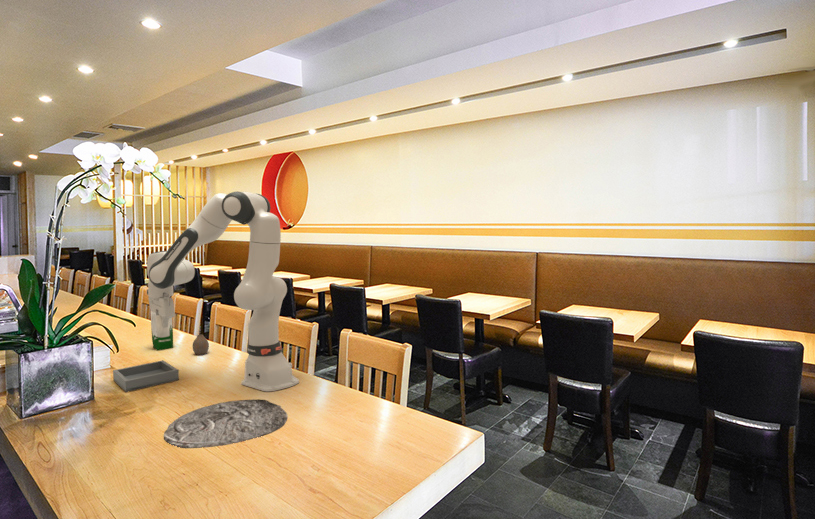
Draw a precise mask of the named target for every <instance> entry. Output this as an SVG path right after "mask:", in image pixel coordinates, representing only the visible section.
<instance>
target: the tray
mask: <svg viewBox="0 0 815 519" xmlns="http://www.w3.org/2000/svg"><path fill="white" fill-rule="evenodd" d="M179 376H180V375H179V369H177V367H174V366H173V365H171V364H170V363H168V362H167V361H165V360H157V361H152V362H147V363H143V364H137V365H133V366H128V367H124V368H118V369H113V370H112V377H113V378H112V379H113V381H114V382H115V383H116V384H117V386H119V388H121V389H122V390H123V391H124V392H125V393H128V391H129V392H133V391H138V390H142V389H146V388H150V387H154V386H158V385H159V386H160V385H163V384H167V383H172V382H176V381H179V380H180V378H179ZM137 389H138V390H137Z"/></svg>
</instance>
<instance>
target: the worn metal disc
mask: <svg viewBox="0 0 815 519" xmlns="http://www.w3.org/2000/svg"><path fill="white" fill-rule="evenodd" d="M287 421H288V413H287V412H286V411H285V409H284V408H283V407H282V406H281V405H278V404H276V403H274V402H271V401H269V400H266V399H260V398H259V399H254V398H253V399H238V400H230V401H224V402H218V403H215V404H211V405H207V406H203V407H200V408H197V409H194V410H192V411H190V412H187V413H185V414H183V415H181V416H178V418H176V419H175V420H173V421H172V422H171V423H170V424H169V425H168V427H167V429H166V430H165V431H164V434H163V440H164V441H165V443H167V444H168V443H169V444H168V445H170V444H171V446H173V445H174V446H173V447H175V446H177V447H176V448H179V447H180V449H202V447H203V449H204V448H214V447H221V446H228V445H233V443H234V444H238V443H242V442H246V440H247V441H250V440H254V439H258V438H261V436H262V437H264V436H267V435H270V434H273V433H274V432H277V431H278V430H280V429H281V428H283V427H284V426H285V424H286V423H287ZM257 437H258V438H257ZM253 438H254V439H253Z"/></svg>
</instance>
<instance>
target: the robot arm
mask: <svg viewBox="0 0 815 519" xmlns="http://www.w3.org/2000/svg"><path fill="white" fill-rule="evenodd" d="M271 208H272V207H271V202H270V201H269V199H268V198H267V197H266V196H264V195H263V194H260V193H254V192H251V191H232V192H229V193H224V192H219V193H215V194H214V195H213V196H212V197H211V198H210V199H209V200H208V201H207V202H206V204H205V205H204V206H203V207H202V208H201V210H200V211H199V213H198V215H197V216H196V218H194V220H193V221H192V223H190V225H189V226H187V228H186V229H185V230H184V231H183V232H182V233H181V234H180V235H179V236H178V237H177V238H176V239H175V241H174V242H173V243H172V244H171V246H170V247H169V248H168V249H167V250H160V251H154V252H151V253H150V254H148V257H147V262H146V270H147V276H148V283H147V289H146V296H148V304H149V309H150V311H151V312H153V313H155V314H156V309H157V310H158V314H159V316H162V319H163V323H162V327H164V328H165V327H168V321H169V318H172V319H173V318H174V317H175V314H176V313H175V304H174V303H175V301H174V300H173V298H172V297H173V296H175V295H174V287H175V286H178V285H182V284H186V283H189V282H191V281H192V280H193V279H194V278H195V275H196V268H195V266H194V264H193V262H192V261H190V260H189V259H188V260H187V259H186V257H187V256H188V255H190V254H189V253H191V252H192V251H193V250H195V249H197V248H198V247H201V246H204V245H208V244H210V243H212V242H214V241H216V240H218V239H219V238H220V237H221V236H222V235H223V234H224V233H225V231H226V230H227V228H228V226H229V225H230V223H231V222H232V221H234V222H237V223H239V224H241V225H244V226H245V225H248V227H249V230H250V235H249V245H248V246H249V247H248V258H247V263H246V264H247V265H246V268H245V271H244V274H243V277H242V280H241V282H239V284H238V286H237V287H236V288H235V290H234V292H233V299H234V302H235V304H236V306H238V307H239V308H240V309H242V310H244V311H245V310H246V311H253V312H252V315H251V317H250V319H249V321H248V323H247V336H248V343H247V348H246V349H247V354H248V356H247V358H246V359H245V361H244V376H243V377H244V379H242V380H241V382H240V384H241V385H243V386H246V387H250V388H253V389H256V390H259V391H262V392H274V391H275V392H276V391H280V390H284V389H286V388H287V389H288V388H290V387H293V386H295V385H298V384H299V383H300V379H299V378H298V377H296V376H295V375H293V370H292V368H293V363H292V362H289V361H288V360H287V358H286V357H285V356H284V354H283V352H282V351H283V350H282V344H281V341H280V339H279V337H280V336H279V333H280V332H279V318H280V314H281V308H282V304H283V300H284V299H285V297H286V296H287V293H288V287H287V283H286V282H285V280H284V279H282V278H281V277H279V276H274V275H273V274H274V273H275V271H276V268H277V267H278V266H279V263H280V254H281V241H282V236H281V234H282V233H281V222H280V219H279V217H278V216H277V215H276V214H274V213H272V212H271ZM151 312H150V313H151Z"/></svg>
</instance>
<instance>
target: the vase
mask: <svg viewBox="0 0 815 519" xmlns="http://www.w3.org/2000/svg"><path fill="white" fill-rule="evenodd" d="M209 349H210V344H209V341H208V339H207V338H206V337H205V336H204V334H197V336H196V338H195V339H194V340H193V342H192V351H193V352H194V354H195V355H197V356H203V355H206V354H207V353H208V351H209ZM205 353H206V354H205ZM202 354H203V355H202Z"/></svg>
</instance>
